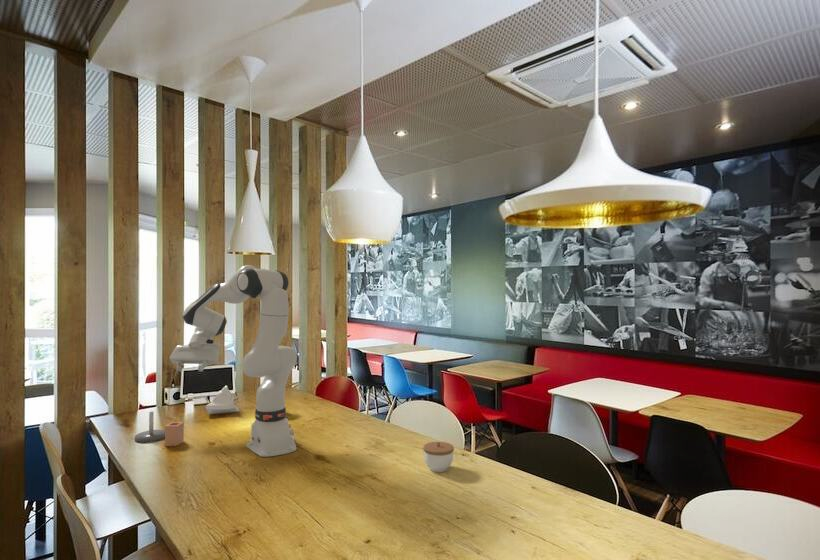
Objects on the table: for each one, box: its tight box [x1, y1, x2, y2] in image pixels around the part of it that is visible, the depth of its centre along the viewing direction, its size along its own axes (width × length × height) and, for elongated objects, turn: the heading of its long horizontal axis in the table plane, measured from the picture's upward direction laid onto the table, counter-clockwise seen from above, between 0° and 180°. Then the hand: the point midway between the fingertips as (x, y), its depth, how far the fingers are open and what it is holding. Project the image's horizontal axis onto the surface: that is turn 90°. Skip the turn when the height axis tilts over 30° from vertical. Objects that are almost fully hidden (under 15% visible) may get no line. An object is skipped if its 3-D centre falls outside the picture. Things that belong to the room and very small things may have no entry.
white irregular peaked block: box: [205, 385, 240, 415], centre depth 231 cm, size 12×15×14 cm
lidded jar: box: [423, 441, 455, 473], centre depth 160 cm, size 11×11×9 cm
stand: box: [134, 410, 165, 444], centre depth 192 cm, size 12×12×11 cm
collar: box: [164, 421, 185, 447], centre depth 185 cm, size 5×5×8 cm
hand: (189, 370), depth 197 cm, fingers open, 8 cm apart
